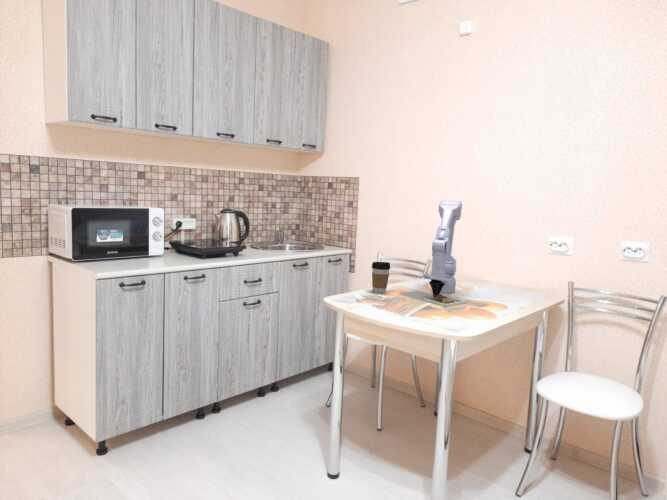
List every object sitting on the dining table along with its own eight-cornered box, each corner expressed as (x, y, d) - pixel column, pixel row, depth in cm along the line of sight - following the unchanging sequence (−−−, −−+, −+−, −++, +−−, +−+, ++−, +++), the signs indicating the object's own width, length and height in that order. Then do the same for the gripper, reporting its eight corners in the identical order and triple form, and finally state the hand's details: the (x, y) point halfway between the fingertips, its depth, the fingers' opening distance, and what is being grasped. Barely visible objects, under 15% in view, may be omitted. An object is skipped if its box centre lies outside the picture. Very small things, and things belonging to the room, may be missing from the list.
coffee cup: (385, 297, 224) (388, 264, 222) (367, 295, 227) (369, 262, 225) (390, 294, 232) (392, 262, 230) (372, 291, 235) (374, 260, 233)
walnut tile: (439, 299, 221) (440, 294, 221) (446, 303, 219) (447, 297, 218) (433, 300, 219) (434, 295, 218) (440, 304, 216) (441, 298, 215)
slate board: (418, 293, 238) (418, 290, 237) (443, 300, 226) (443, 297, 226) (397, 296, 229) (397, 293, 229) (422, 303, 217) (423, 300, 217)
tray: (443, 300, 226) (444, 295, 226) (465, 306, 217) (466, 301, 217) (422, 303, 217) (423, 298, 217) (444, 309, 208) (445, 304, 208)
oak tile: (447, 303, 218) (448, 297, 218) (455, 305, 215) (455, 299, 215) (441, 304, 216) (442, 298, 216) (449, 306, 213) (449, 300, 212)
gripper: (419, 264, 222) (417, 294, 224) (445, 270, 211) (443, 302, 212) (430, 263, 226) (427, 293, 228) (456, 269, 215) (453, 300, 217)
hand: (435, 297), depth 221 cm, fingers closed
